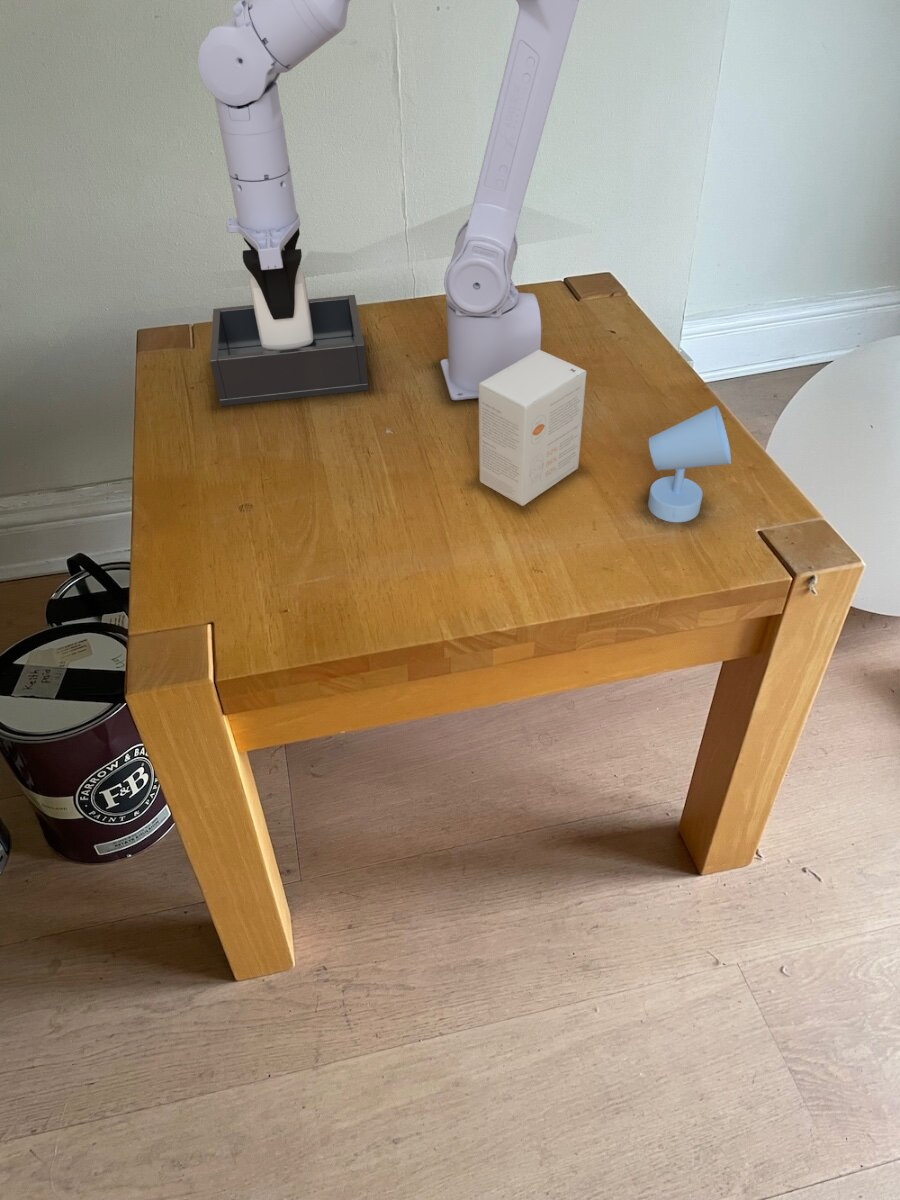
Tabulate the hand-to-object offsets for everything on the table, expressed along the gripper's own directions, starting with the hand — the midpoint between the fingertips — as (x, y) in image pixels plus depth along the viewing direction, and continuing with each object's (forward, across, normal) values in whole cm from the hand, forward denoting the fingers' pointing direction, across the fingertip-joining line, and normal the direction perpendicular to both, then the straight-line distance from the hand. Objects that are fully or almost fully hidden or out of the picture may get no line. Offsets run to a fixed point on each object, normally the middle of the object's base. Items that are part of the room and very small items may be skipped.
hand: (282, 308), depth 92 cm
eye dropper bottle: (+4, 0, 0) cm, 4 cm away
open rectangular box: (+7, 0, 0) cm, 7 cm away
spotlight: (+7, +31, +33) cm, 46 cm away
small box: (+7, +24, +21) cm, 33 cm away
